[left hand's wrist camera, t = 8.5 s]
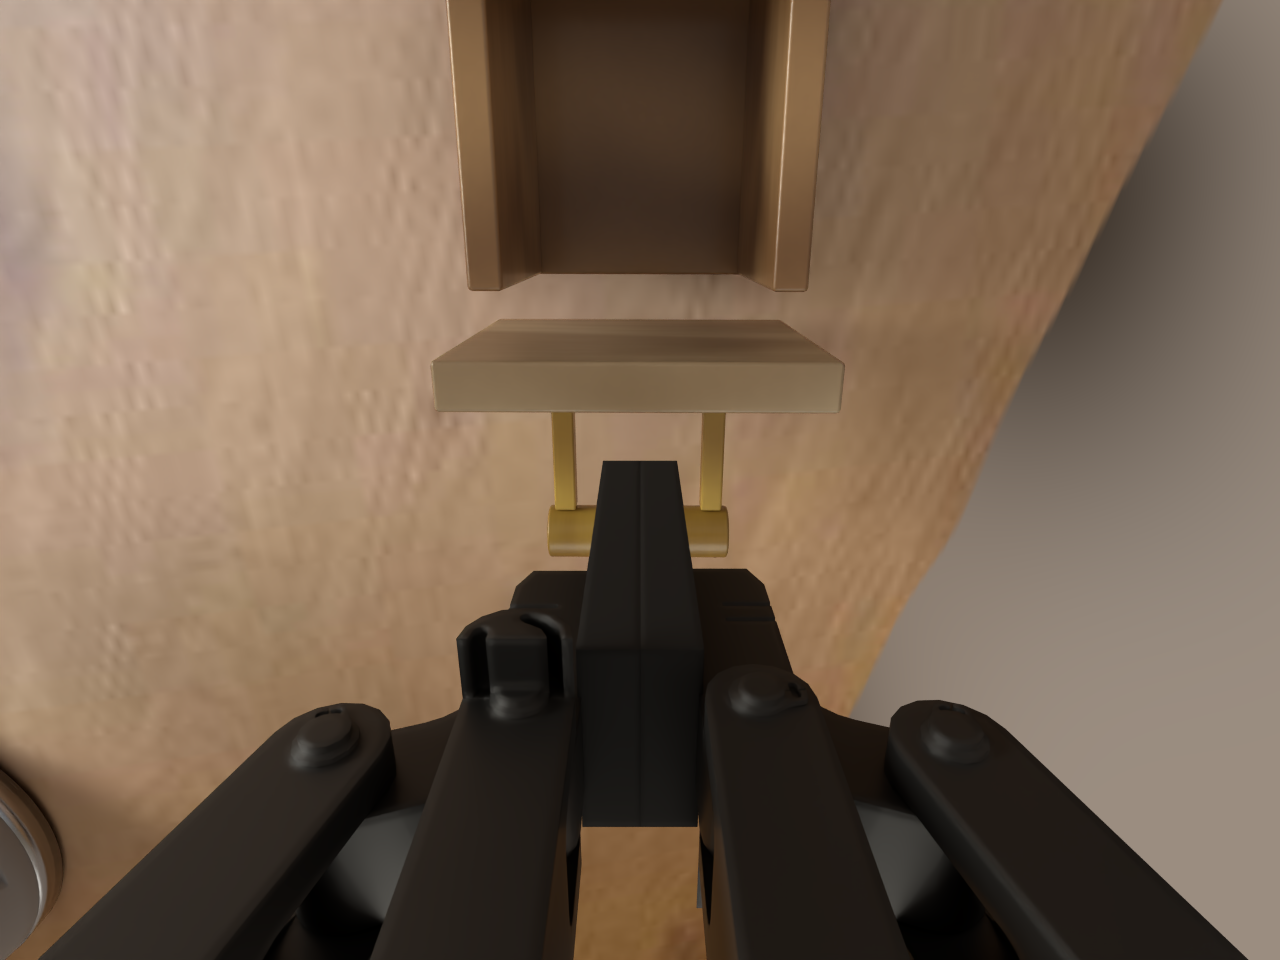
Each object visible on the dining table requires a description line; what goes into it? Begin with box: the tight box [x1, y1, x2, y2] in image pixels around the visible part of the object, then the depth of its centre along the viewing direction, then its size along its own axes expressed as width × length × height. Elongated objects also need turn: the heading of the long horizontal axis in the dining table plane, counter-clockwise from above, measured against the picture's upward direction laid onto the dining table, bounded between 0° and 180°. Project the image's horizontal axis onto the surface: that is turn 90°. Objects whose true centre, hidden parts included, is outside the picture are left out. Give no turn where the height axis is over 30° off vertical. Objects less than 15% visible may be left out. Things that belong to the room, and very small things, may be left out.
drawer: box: [431, 0, 845, 557], centre depth 18 cm, size 21×9×8 cm, turn 0°
